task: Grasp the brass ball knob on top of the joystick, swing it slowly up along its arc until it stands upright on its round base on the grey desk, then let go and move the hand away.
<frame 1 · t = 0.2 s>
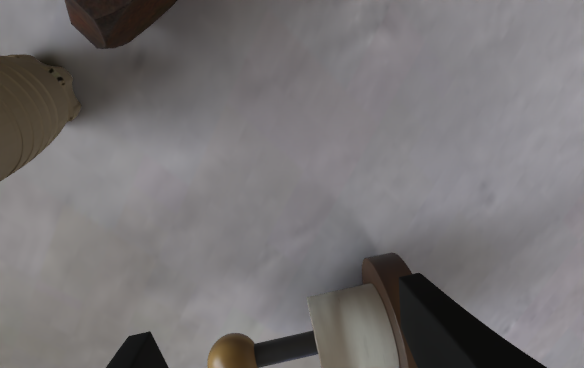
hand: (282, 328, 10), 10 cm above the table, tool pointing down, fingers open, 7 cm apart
handle: (48, 91, 16), on the table
joystick: (310, 343, 19), point 4 cm above the table, hinge at -0.1°
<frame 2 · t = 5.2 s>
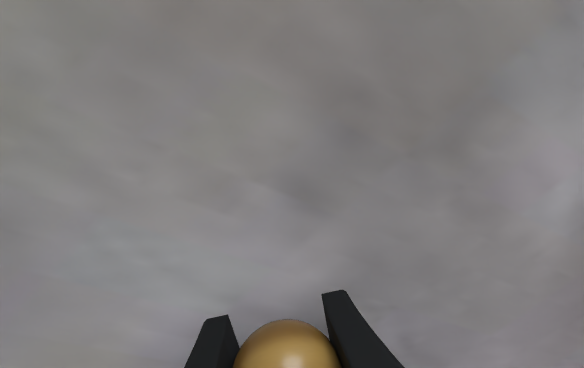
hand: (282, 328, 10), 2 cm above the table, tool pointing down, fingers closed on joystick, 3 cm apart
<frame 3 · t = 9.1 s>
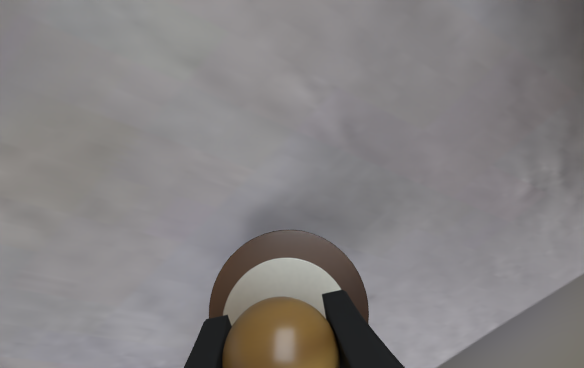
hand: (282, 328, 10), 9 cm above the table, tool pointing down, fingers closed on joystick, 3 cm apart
joystick: (286, 325, 13), point 7 cm above the table, hinge at 51.3°, touching gripper
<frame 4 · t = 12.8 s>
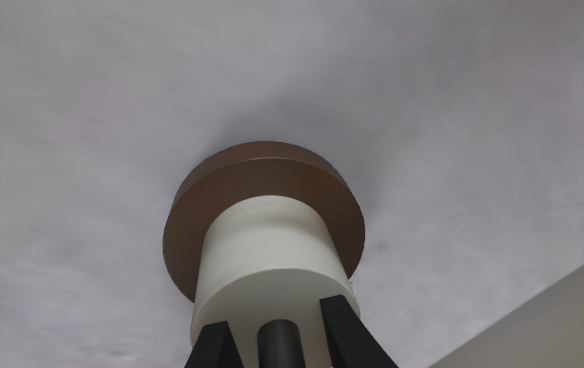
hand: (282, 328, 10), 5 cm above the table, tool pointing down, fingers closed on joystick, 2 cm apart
joystick: (279, 343, 10), point 6 cm above the table, hinge at 90.8°, touching gripper
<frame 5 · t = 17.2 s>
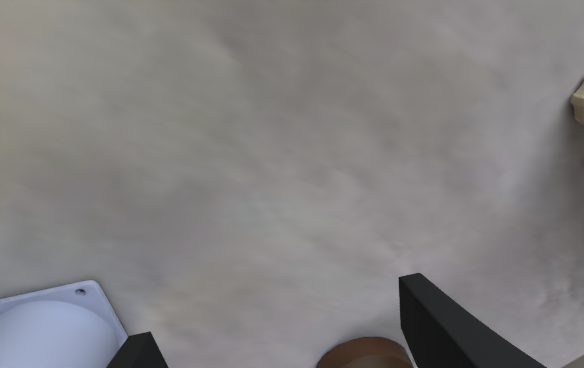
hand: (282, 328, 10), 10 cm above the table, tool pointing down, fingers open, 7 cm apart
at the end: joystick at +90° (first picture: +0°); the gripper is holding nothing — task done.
